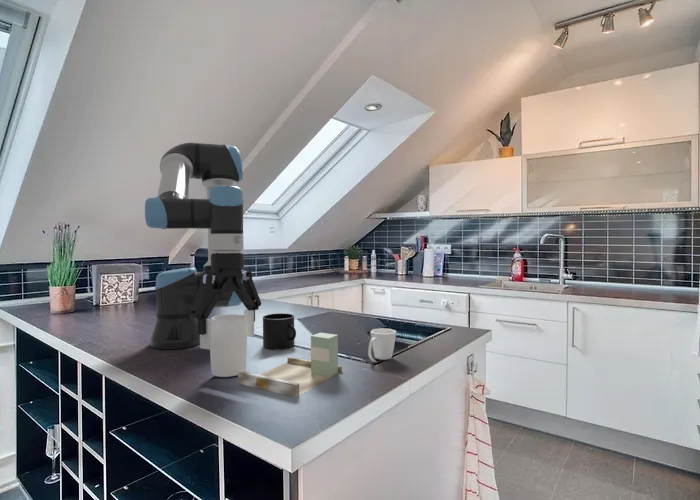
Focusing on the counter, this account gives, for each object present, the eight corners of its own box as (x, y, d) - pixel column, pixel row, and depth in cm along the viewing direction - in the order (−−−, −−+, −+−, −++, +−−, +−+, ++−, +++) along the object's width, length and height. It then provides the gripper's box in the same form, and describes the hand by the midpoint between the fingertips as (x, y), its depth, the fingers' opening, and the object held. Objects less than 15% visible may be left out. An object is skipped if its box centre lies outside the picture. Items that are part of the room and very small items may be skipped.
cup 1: (241, 368, 103) (240, 312, 102) (252, 378, 96) (251, 318, 95) (206, 374, 98) (205, 316, 98) (215, 385, 91) (214, 322, 91)
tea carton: (310, 373, 96) (310, 336, 96) (320, 368, 100) (320, 332, 99) (328, 377, 93) (328, 338, 93) (338, 372, 97) (337, 334, 97)
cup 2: (401, 360, 109) (401, 330, 108) (380, 370, 101) (380, 338, 101) (379, 355, 113) (379, 327, 113) (358, 364, 105) (358, 333, 105)
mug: (284, 353, 116) (283, 321, 116) (256, 346, 123) (256, 316, 123) (306, 346, 123) (306, 316, 123) (279, 340, 131) (279, 312, 130)
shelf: (237, 387, 90) (237, 372, 90) (289, 364, 106) (288, 351, 105) (295, 401, 82) (295, 385, 82) (342, 374, 98) (341, 361, 98)
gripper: (194, 253, 83) (196, 356, 84) (274, 251, 105) (275, 333, 105) (170, 253, 87) (172, 352, 87) (252, 251, 109) (253, 330, 109)
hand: (228, 342), depth 96 cm, fingers open, 13 cm apart
